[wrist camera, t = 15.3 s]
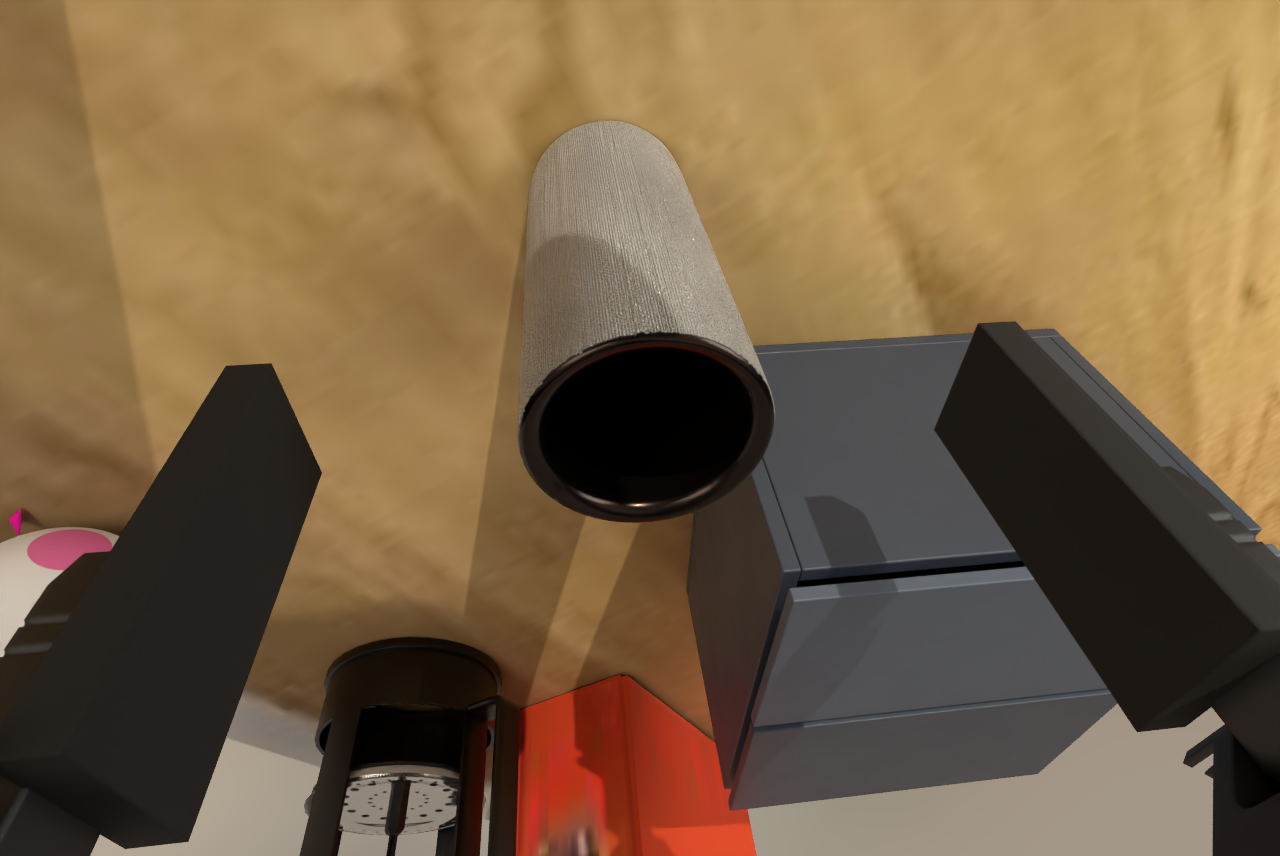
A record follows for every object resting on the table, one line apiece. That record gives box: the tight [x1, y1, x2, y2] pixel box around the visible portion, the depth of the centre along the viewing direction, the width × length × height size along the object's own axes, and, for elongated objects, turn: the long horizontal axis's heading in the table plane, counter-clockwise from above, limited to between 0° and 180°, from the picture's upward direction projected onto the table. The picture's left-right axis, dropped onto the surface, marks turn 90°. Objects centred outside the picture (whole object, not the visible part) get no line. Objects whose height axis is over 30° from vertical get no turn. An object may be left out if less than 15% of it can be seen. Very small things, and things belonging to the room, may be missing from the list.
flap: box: [751, 544, 1280, 727], centre depth 19 cm, size 7×13×1 cm, turn 90°
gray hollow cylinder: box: [518, 120, 775, 523], centre depth 15 cm, size 4×4×10 cm
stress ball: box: [0, 509, 119, 657], centre depth 25 cm, size 8×8×7 cm
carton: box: [687, 329, 1262, 811], centre depth 25 cm, size 15×13×10 cm
